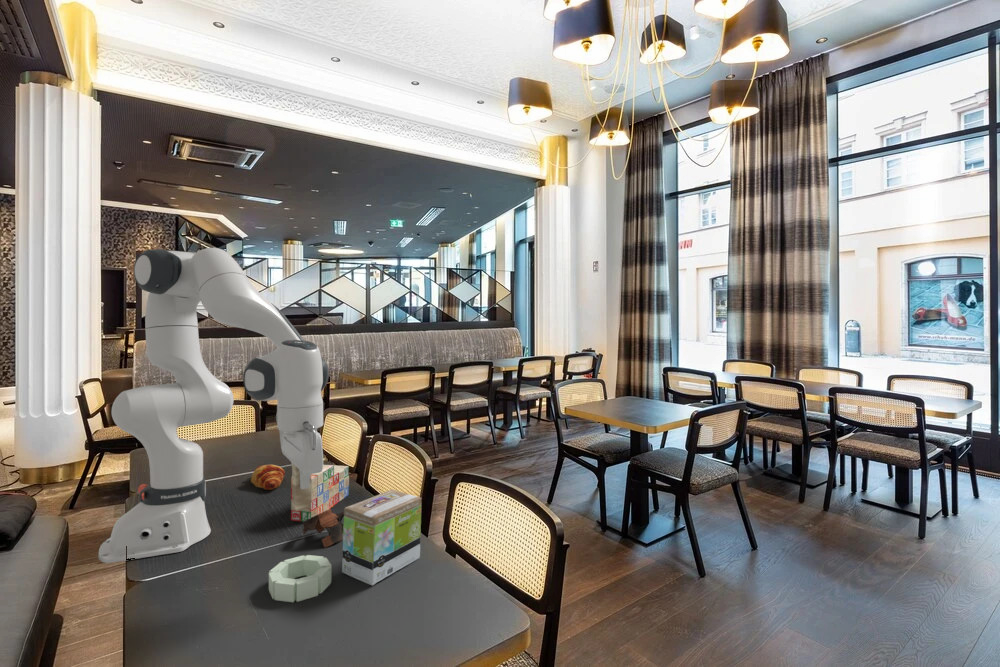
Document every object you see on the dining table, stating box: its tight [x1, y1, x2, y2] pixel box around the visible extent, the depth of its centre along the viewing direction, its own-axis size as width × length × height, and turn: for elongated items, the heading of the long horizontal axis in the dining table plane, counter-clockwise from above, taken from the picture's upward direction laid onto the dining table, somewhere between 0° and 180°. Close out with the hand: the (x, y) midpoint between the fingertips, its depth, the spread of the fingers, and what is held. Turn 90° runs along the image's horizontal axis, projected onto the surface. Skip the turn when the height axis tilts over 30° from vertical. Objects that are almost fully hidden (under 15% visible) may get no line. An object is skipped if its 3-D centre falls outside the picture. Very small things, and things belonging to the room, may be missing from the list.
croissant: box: [250, 464, 286, 491], centre depth 163 cm, size 21×10×8 cm, turn 35°
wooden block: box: [291, 463, 311, 511], centre depth 101 cm, size 3×3×10 cm
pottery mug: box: [302, 508, 344, 548], centre depth 123 cm, size 12×10×8 cm
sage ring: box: [268, 554, 332, 603], centre depth 101 cm, size 12×12×4 cm
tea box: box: [341, 489, 422, 586], centre depth 110 cm, size 15×10×15 cm, turn 148°
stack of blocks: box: [290, 464, 350, 523], centre depth 143 cm, size 21×6×12 cm, turn 170°
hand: (301, 485), depth 101 cm, fingers closed on wooden block, 3 cm apart
